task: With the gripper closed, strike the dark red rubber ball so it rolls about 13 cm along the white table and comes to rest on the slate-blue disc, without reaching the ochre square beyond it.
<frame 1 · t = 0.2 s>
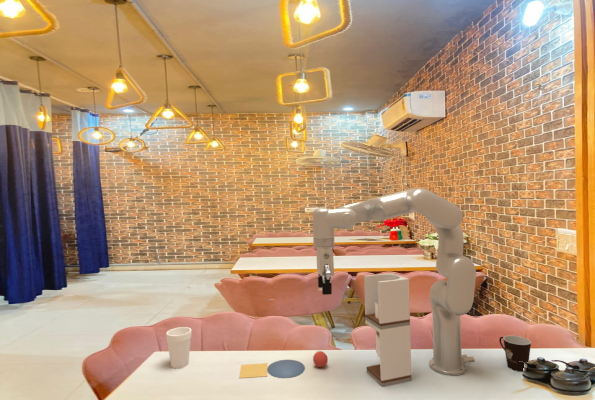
hand: (324, 290, 130), 30 cm above the table, tool pointing down, fingers open, 9 cm apart
ball: (320, 359, 136), on the table
display case: (388, 377, 127), on the table
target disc: (286, 368, 135), on the table
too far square: (253, 370, 134), on the table
foam cup: (180, 365, 141), on the table
coffee mug: (515, 366, 133), on the table
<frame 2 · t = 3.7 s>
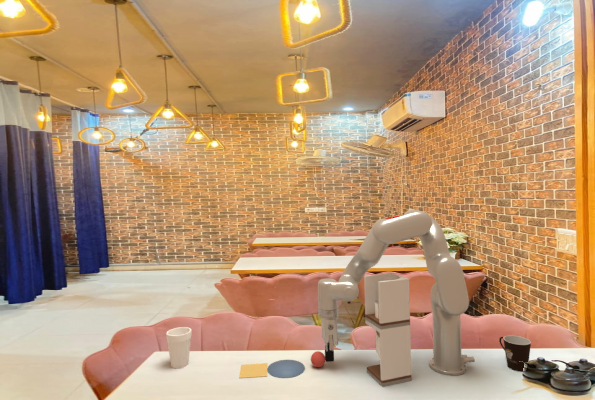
hand: (329, 360, 137), 2 cm above the table, tool pointing down, fingers closed
ball: (318, 359, 136), on the table, touching gripper
everything else where it was.
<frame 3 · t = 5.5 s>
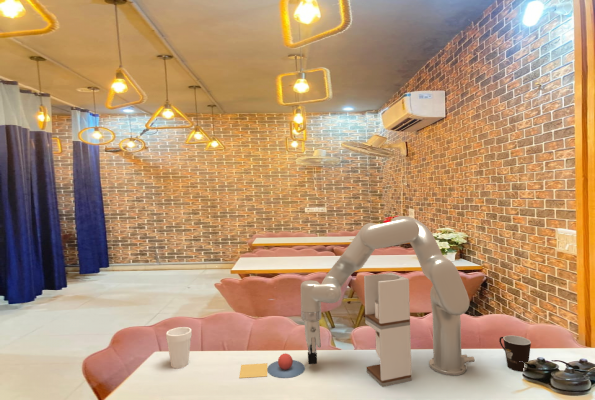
hand: (312, 362, 136), 2 cm above the table, tool pointing down, fingers closed
ball: (285, 361, 135), on the table
everything else where it was.
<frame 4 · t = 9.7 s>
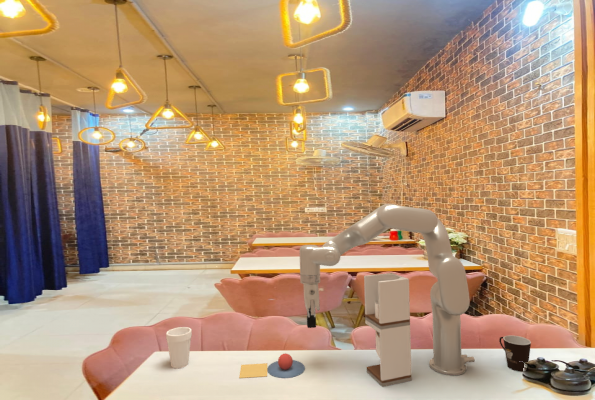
hand: (311, 326, 136), 15 cm above the table, tool pointing down, fingers closed
nothing on the table moved.
at the end: ball 0.2 cm from the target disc (horizontally); ball at rest at the end (0.0 cm/s); ball moved 13.2 cm from its start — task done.
